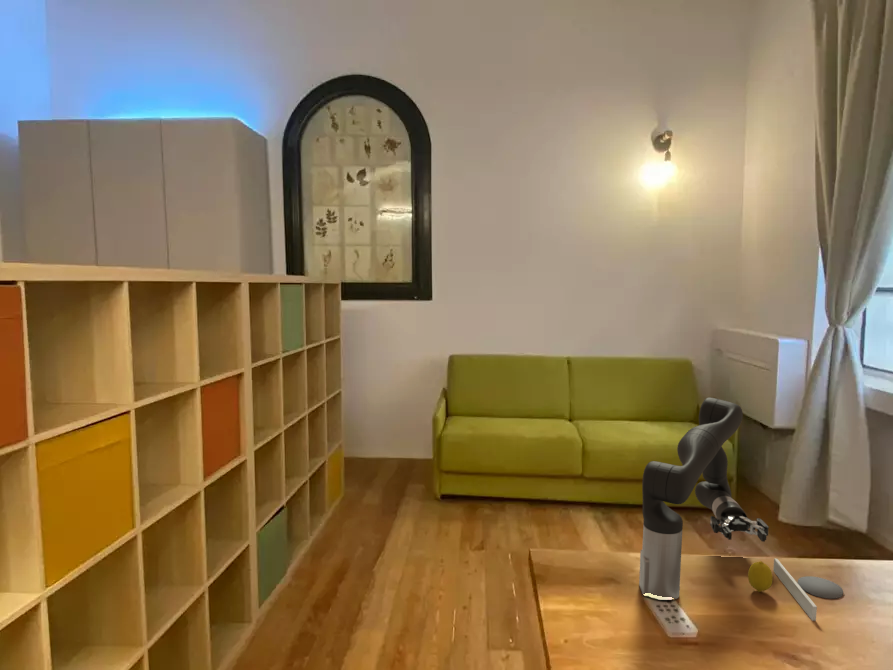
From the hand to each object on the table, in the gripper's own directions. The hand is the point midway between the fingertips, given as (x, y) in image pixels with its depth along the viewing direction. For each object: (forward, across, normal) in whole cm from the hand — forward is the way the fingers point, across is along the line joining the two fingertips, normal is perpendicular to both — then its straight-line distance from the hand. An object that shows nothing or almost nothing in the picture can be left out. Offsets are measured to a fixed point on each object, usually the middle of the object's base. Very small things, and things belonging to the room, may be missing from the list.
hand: (747, 537), depth 168 cm
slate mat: (+8, +16, +9) cm, 20 cm away
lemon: (+12, 0, +9) cm, 15 cm away
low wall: (+12, +8, +9) cm, 17 cm away
